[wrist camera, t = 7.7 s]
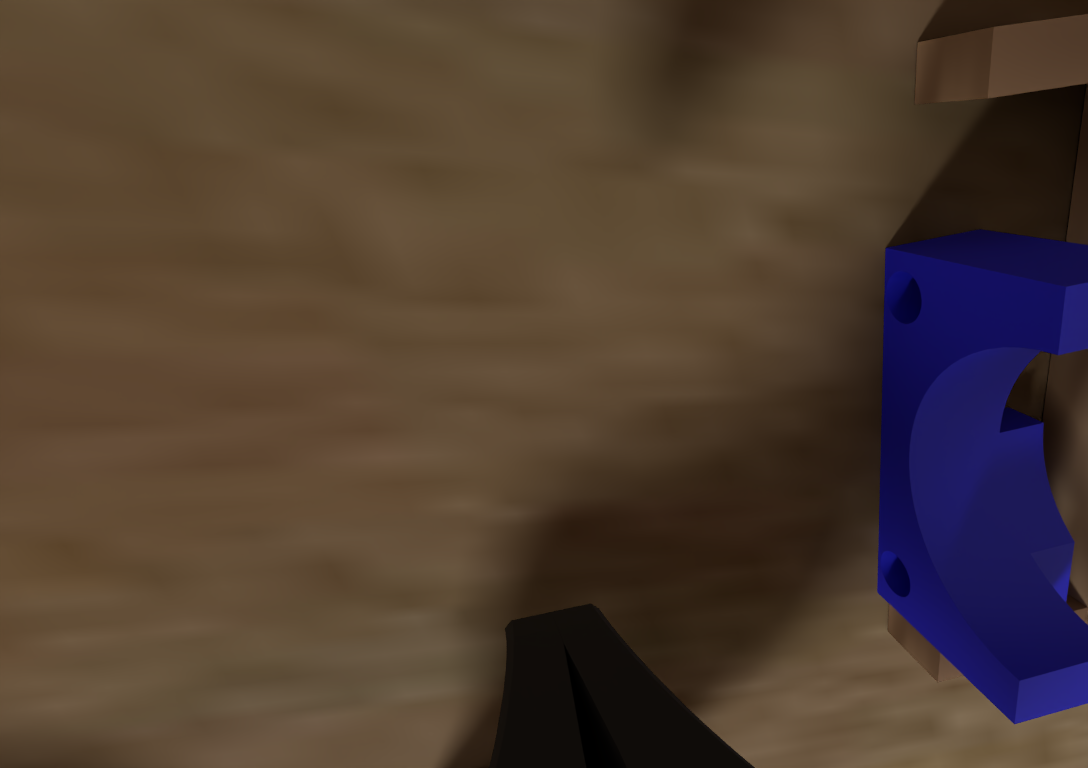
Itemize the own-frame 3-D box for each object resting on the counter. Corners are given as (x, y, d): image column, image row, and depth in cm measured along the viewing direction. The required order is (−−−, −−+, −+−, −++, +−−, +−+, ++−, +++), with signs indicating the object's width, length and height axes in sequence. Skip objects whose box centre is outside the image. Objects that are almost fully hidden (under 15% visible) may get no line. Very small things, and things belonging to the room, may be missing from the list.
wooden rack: (1055, 588, 25) (1120, 633, 23) (887, 631, 24) (937, 682, 22) (1143, 11, 19) (1248, -9, 16) (917, 42, 18) (993, 26, 15)
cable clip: (990, 559, 24) (1160, 681, 19) (874, 589, 24) (1014, 724, 18) (1021, 219, 20) (1253, 247, 15) (881, 246, 20) (1066, 286, 14)
